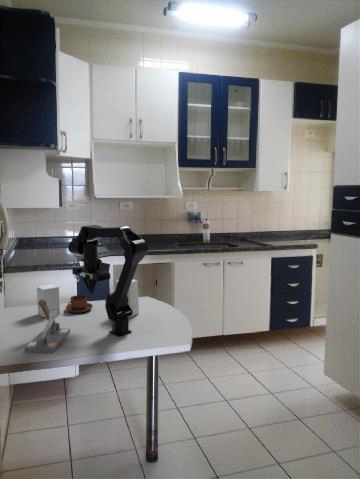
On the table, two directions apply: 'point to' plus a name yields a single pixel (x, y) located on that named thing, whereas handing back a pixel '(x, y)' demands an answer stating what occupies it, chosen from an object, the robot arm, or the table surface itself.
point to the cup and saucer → (78, 304)
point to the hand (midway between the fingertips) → (91, 293)
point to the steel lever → (48, 324)
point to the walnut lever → (46, 311)
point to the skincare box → (132, 297)
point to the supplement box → (48, 298)
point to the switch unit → (48, 340)
